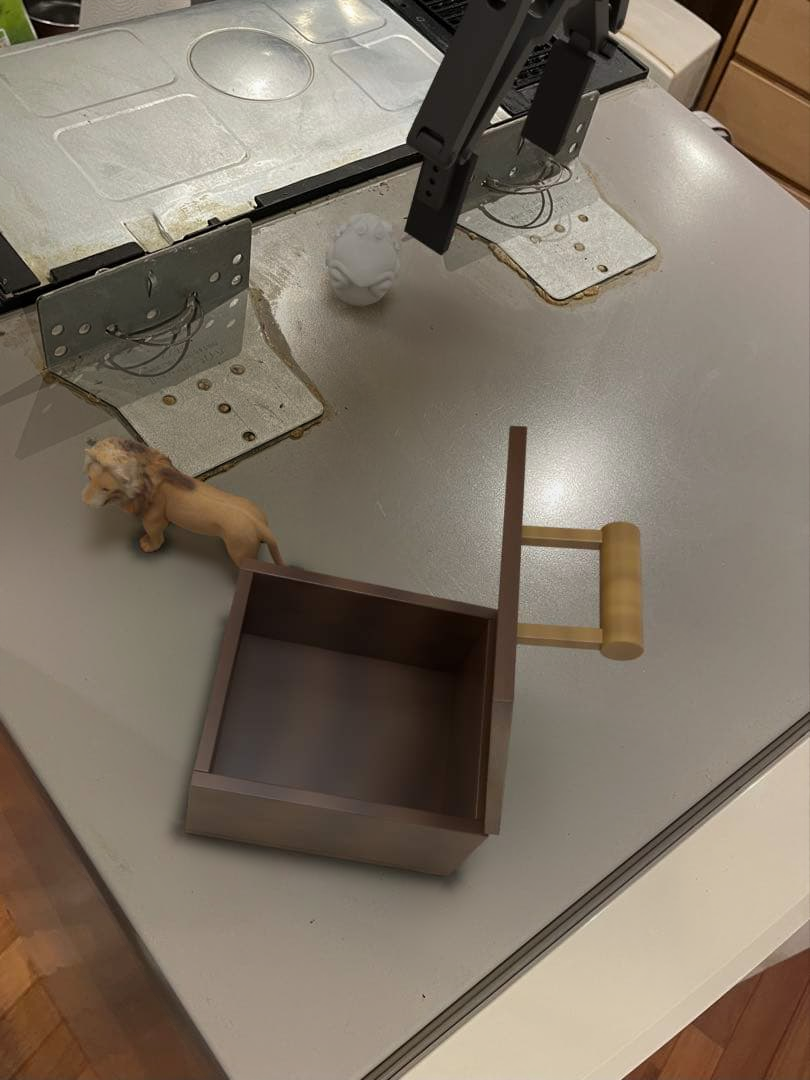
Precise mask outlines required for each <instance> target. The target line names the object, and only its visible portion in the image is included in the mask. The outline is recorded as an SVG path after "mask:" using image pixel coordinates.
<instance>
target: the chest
mask: <svg viewBox="0 0 810 1080" xmlns="http://www.w3.org/2000/svg"><path fill="white" fill-rule="evenodd" d="M287 566H288V565H287ZM287 566H282V565H277V564H275V563H271V562H267V561H262V560H259V561H257V560H252V559H247V558H243V559H242V563H241V568H239V572H238V577H237V579H236V580H237V581H236V585H235V590H234V594H233V598H232V603H231V607H230V611H229V615H228V619H227V624H226V628H225V632H224V637H223V642H222V645H221V650H220V655H219V659H218V662H217V667H216V670H215V675H214V679H213V685H212V688H211V693H210V697H209V701H208V706H207V710H206V715H205V719H204V722H203V727H202V731H201V736H200V740H199V744H198V745H199V746H198V749H197V753H196V758H195V762H194V767H193V771H192V775H191V779H190V784H189V790H188V791H189V793H188V799H187V800H188V801H187V812H186V820H185V831H184V832H185V833H186V834H190V835H191V834H192V835H196V836H202V837H209V838H215V839H221V840H226V841H227V840H228V841H233V842H239V843H246V844H250V845H257V846H262V847H267V848H275V849H280V850H287V851H292V852H299V853H303V854H304V853H305V854H311V855H315V856H316V855H317V856H321V857H328V858H335V859H340V860H345V861H352V862H359V863H365V864H369V865H376V866H381V867H388V868H394V869H399V870H406V871H411V872H418V873H424V874H429V875H435V876H440V877H441V876H442V877H448V876H450V874H452V872H454V871H455V870H456V869H457V868H458V867H459V866H460V865H461V864H462V863H463V862H464V861H465V860H466V859H467V858H468V857H469V856H471V855H472V854H473V852H475V851H476V850H477V849H478V848H479V847H480V846H481V845H483V843H484V842H485V841H486V840H487V839H488V838H489V837H490V834H485V833H484V823H485V807H486V791H487V775H488V759H489V743H490V727H491V711H492V695H493V679H494V663H495V647H496V631H497V614H498V608H493V607H489V606H483V605H479V604H473V603H468V602H464V601H459V600H455V599H450V598H444V597H440V596H434V595H429V594H425V593H420V592H414V591H409V590H405V589H400V588H395V587H389V586H386V585H385V586H384V585H380V584H376V583H370V582H365V581H361V580H355V579H352V578H351V579H350V578H346V577H341V576H335V575H330V574H325V573H322V572H316V571H311V570H306V569H304V570H302V569H303V568H302V569H297V568H292V567H287Z"/></svg>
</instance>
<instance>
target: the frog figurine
mask: <svg viewBox="0 0 810 1080" xmlns="http://www.w3.org/2000/svg"><path fill="white" fill-rule="evenodd" d="M333 237H334V238H333V239H332V240H333V241H331V243H329V244H328V246H327V247H326V251H325V260H324V262H325V264H326V266H327V273H328V275H329V282H330V285H331V288H332V290H333V291H334V293H335V294H336V296H337V297H338V298H339V299H341V301H343V302H344V303H346V304H349V305H351V306H355V307H365V306H370V305H373V304H375V303H377V302H378V301H379V300H381V299H382V298H383V297H384V296H385V295H386V294H387V293H388V291H389V289H391V288H392V287H393V285H394V284H395V281H396V280H397V279H398V277H399V275H400V271H401V259H400V257H399V256H398V254H399V250H400V246H399V244H398V241H397V238H396V237H395V235H394V228H393V226H392V223H391V222H389V221H388V220H385V219H382V218H381V217H380V216H378V215H376V214H373V213H368V212H367V213H361V214H358V213H357V214H356V213H355V214H354V213H353V214H352V215H351V216H350V218H349V219H348V221H346V222H344V224H342V225H341V226H340V227H338V229H337V230H336V231H335V233H334V236H333Z"/></svg>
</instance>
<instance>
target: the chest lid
mask: <svg viewBox="0 0 810 1080" xmlns="http://www.w3.org/2000/svg"><path fill="white" fill-rule="evenodd" d="M508 428H509V429H508V430H509V431H508V443H507V458H506V459H507V462H506V476H505V492H504V509H503V520H502V521H503V523H502V538H501V551H500V552H501V554H500V557H501V558H500V568H499V569H500V570H499V584H498V585H499V586H498V599H497V600H498V601H497V609H498V614H497V631H496V647H495V663H494V679H493V695H492V711H491V727H490V743H489V759H488V775H487V791H486V807H485V823H484V833H485V834H489V835H494V836H499V835H500V832H501V822H502V815H503V813H502V811H503V804H504V795H505V787H506V786H505V785H506V777H507V769H508V758H509V751H510V750H509V748H510V741H511V740H510V739H511V731H512V721H513V714H514V713H513V712H514V705H515V704H514V703H515V688H516V687H515V685H516V684H515V683H516V665H517V663H516V662H517V645H520V646H521V645H523V646H535V647H548V648H549V647H550V648H562V649H576V650H587V651H588V650H591V651H599V653H600V654H601V656H602V657H604V658H606V659H608V660H610V661H611V660H612V661H617V662H626V661H627V662H628V661H633V660H636V659H638V658H640V657H641V656H642V655H643V654H644V652H645V644H644V640H645V639H644V611H643V610H644V609H643V607H644V606H643V575H642V574H643V573H642V540H641V537H642V536H641V530H640V528H639V527H638V526H637V525H636V524H634V523H632V522H629V521H622V520H621V521H611V522H609V523H607V524H605V525H603V526H602V527H601V528H600V529H592V528H591V529H589V528H572V527H556V526H539V525H525V524H524V525H523V523H524V504H525V501H524V500H525V482H526V480H525V479H526V461H527V441H528V427H527V426H525V425H510V426H509V427H508ZM522 546H523V547H524V546H525V547H539V548H540V547H541V548H554V549H555V548H557V549H571V550H589V551H598V557H599V558H598V560H599V561H598V563H599V564H598V565H599V566H598V568H599V569H598V571H599V572H598V576H599V577H598V578H599V580H598V583H599V587H598V589H599V590H598V591H599V593H598V594H599V595H598V597H599V598H598V600H599V601H598V602H599V606H598V607H599V611H598V612H599V613H598V614H599V617H598V618H599V619H598V622H599V623H598V624H599V625H598V626H599V627H583V626H569V625H556V624H544V623H543V624H541V623H528V622H527V623H526V622H519V606H520V604H519V603H520V602H519V601H520V582H521V564H522V563H521V562H522Z"/></svg>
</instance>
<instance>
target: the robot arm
mask: <svg viewBox="0 0 810 1080" xmlns="http://www.w3.org/2000/svg"><path fill="white" fill-rule="evenodd" d="M629 4H630V0H469V1H468V4H467V6H466V8H465V10H464V13H463V15H462V17H461V19H460V21H459V23H458V25H457V28H456V30H455V32H454V33H453V36H452V39H451V40H450V43H449V45H448V47H447V49H446V51H445V54H444V55H443V58H442V60H441V62H440V63H439V66H438V68H437V71H436V73H435V75H434V77H433V79H432V81H431V84H430V85H429V88H428V90H427V92H426V94H425V97H424V99H423V101H422V103H421V105H420V107H419V109H418V112H417V114H416V116H415V118H414V120H413V122H412V124H411V126H410V129H409V131H408V133H407V136H406V139H405V143H406V145H407V146H408V147H409V148H411V149H413V150H415V152H417V153H419V154H420V155H422V156H423V159H422V163H421V166H420V170H419V173H418V177H417V181H416V184H415V189H414V193H413V196H412V200H411V203H410V207H409V211H408V214H407V217H406V221H405V225H404V229H403V232H404V233H406V234H408V235H409V236H410V237H412V238H413V239H415V240H417V241H418V242H419V243H421V244H422V245H424V246H426V247H427V248H428V249H430V250H431V251H433V252H435V253H436V254H438V255H439V256H441V257H442V256H443V255H444V254H446V252H448V251H449V249H450V245H451V243H452V239H453V237H454V233H455V230H456V227H457V224H458V221H459V218H460V215H461V211H462V209H463V206H464V202H465V200H466V196H467V193H468V190H469V188H470V187H469V186H470V184H471V181H472V177H473V175H474V172H475V168H476V166H477V162H478V160H479V155H478V154H476V153H475V152H474V150H475V148H476V147H477V145H478V143H479V142H480V140H481V139H482V136H483V135H484V133H485V132H486V130H487V128H488V127H489V125H490V123H491V121H492V120H493V118H494V117H495V114H496V113H497V111H498V109H499V108H500V106H501V105H502V103H503V101H504V99H505V98H506V96H507V95H508V93H509V91H510V90H511V88H512V86H513V84H514V83H515V81H516V79H517V78H518V76H519V75H520V73H521V71H522V69H523V67H524V66H525V64H526V63H527V60H528V59H529V57H530V56H531V55H532V52H533V50H534V49H535V47H537V46H541V45H543V46H544V45H545V44H548V43H549V41H550V40H551V39H552V37H553V36H554V34H555V32H556V31H557V29H558V27H559V26H560V24H561V22H562V31H563V36H564V37H566V38H567V39H568V42H566V41H565V40H563V39H562V38H557V39H556V40H555V41H554V42H552V46H551V48H550V51H549V54H548V57H547V59H546V61H545V65H544V68H543V71H542V73H541V75H540V78H539V82H538V84H537V87H536V90H535V93H534V96H533V98H532V102H531V104H530V106H529V108H528V109H529V110H528V112H527V115H526V118H525V121H524V124H523V126H522V129H521V132H520V134H519V135H520V136H521V137H522V138H523V139H525V140H527V141H529V142H530V143H531V144H533V145H535V146H536V147H538V148H539V149H542V150H543V151H544V152H546V153H548V154H549V155H551V156H552V157H555V156H557V155H558V154H559V153H561V152H560V151H561V149H562V147H563V145H564V142H565V140H566V136H567V134H568V132H569V129H570V127H571V125H572V122H573V120H574V118H575V115H576V113H577V110H578V108H579V105H580V102H581V100H582V98H583V95H584V92H585V90H586V87H587V85H588V82H589V80H590V77H591V75H592V73H593V70H594V68H595V65H596V63H597V60H596V59H594V58H593V57H594V55H596V56H597V57H599V58H601V59H602V60H604V61H606V62H607V63H608V62H610V61H611V60H613V58H614V56H615V54H616V52H617V51H618V49H619V46H620V43H619V42H618V40H615V39H614V38H611V37H610V36H609V32H610V33H612V34H613V35H616V34H618V33H619V32H620V31H621V30H622V29H623V27H624V25H625V20H626V18H627V14H628V9H629ZM529 11H531V12H532V13H534V14H536V15H538V16H540V17H536V16H534V15H532V14H531V13H530V12H529Z"/></svg>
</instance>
